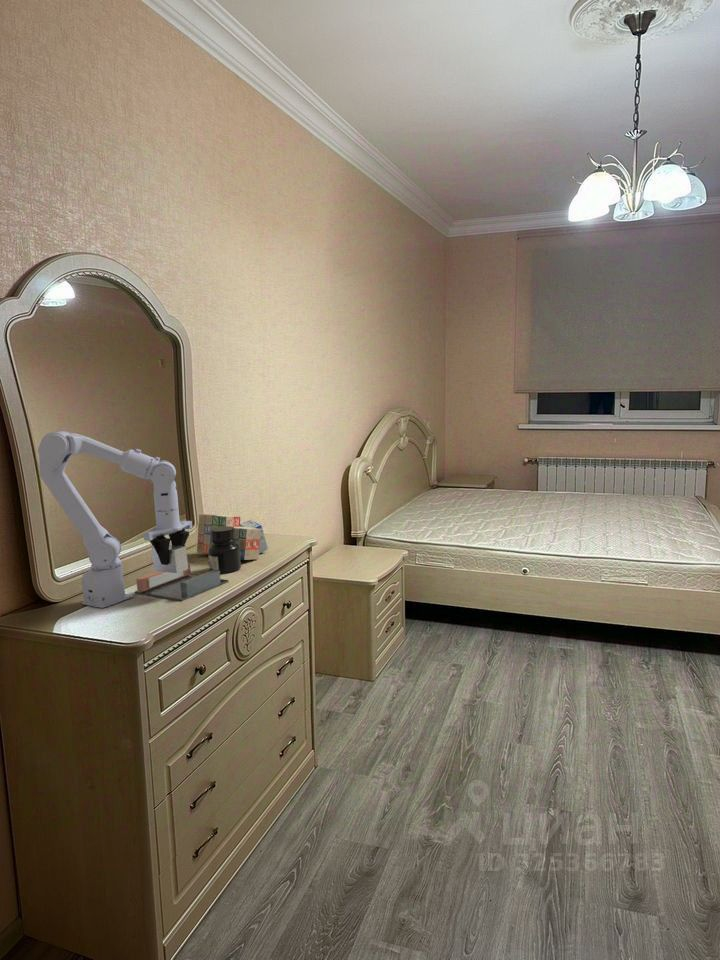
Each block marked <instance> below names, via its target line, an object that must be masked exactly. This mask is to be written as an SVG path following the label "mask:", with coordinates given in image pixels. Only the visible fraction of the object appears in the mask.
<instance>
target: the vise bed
mask: <svg viewBox="0 0 720 960" xmlns="http://www.w3.org/2000/svg"><path fill="white" fill-rule="evenodd" d="M226 583H229V580H228V579H223V578H222V579H221V573H220V570H212V571H210V570H209V571H206V572H204V573H202V574H199V575H194V574H189V575H187V576H184V577H181V578H178V579H176V580H173V581H170V582H168V583H165V584H162V585H160V586H157V587H154V588H151V589H149V590H146V591H143V592H142V591H137V590H135V591H134V593H135V594H138V595H142V596H149V597H155V598H161V599H166V600H172V601H179V602H184V601H185V600H188V599H191V598H194V597H196V596H198V595H200V594H203V593H206V592H208V591H210V590H213V589H215V588H218V587H220V586H222V585H225V584H226Z"/></svg>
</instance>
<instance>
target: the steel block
mask: <svg viewBox="0 0 720 960" xmlns="http://www.w3.org/2000/svg"><path fill="white" fill-rule="evenodd" d="M151 552H152V553H151V554H152V563H153V571H154V572H157V571H161V572H169V573H179V572H182V571H185V570H187V569H188V563H189V562H188V554H187V553H188V552H187V546H186V545H185V546H178V545H172V544H169V564H168V565H163V564H161V562H160V559H159V557H158V554H157V552H156V550H155V548H154V547H153V546H152V547H151Z"/></svg>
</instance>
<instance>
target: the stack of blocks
mask: <svg viewBox="0 0 720 960" xmlns="http://www.w3.org/2000/svg"><path fill="white" fill-rule="evenodd" d="M240 524H241V516H236V515H229V514H228V515H226V514H225V515H224V514H214V513H207V514H205V513H199V514H198V524H197V525H198V527H197V543H196V546H197V547H196V554H204V555H208V549H209V547H210V546H211V545H212V544H213V543H212V542H211V534H210V529H212V528H215V527H222V526H232V527H234V530H235V541H234V542H235V543H236V544H238V545H239V547H240V559H241V560H243V561H246V560H247V561H250V560H259V557H260V553H259V547H260V537H261V529H256V528H249V527H240Z"/></svg>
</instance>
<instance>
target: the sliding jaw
mask: <svg viewBox="0 0 720 960" xmlns="http://www.w3.org/2000/svg"><path fill="white" fill-rule="evenodd" d="M191 573H192V572H191V562H188V569H187V570H185V571H182V572H179V573H169V572H161V571H154V572H151V573H149V574H146V575H143V576H141V577H138V578H136V579H135V581H136V589H137V590H136V591H142V592H143V591H146V590H149V589H151V588H154V587H157V586H160V585H162V584H165V583H168V582H170V581H173V580H176V579H178V578H181V577H184V576H187V575H192V574H191Z"/></svg>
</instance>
